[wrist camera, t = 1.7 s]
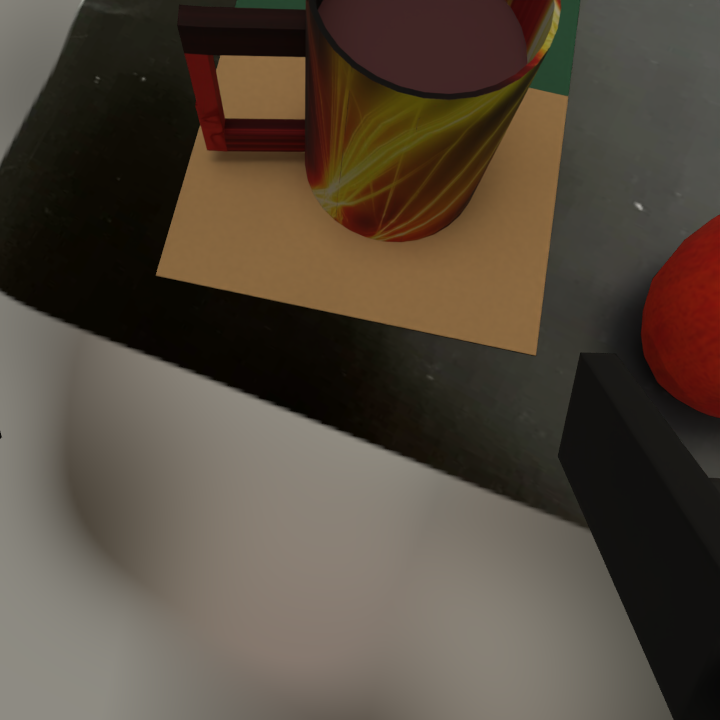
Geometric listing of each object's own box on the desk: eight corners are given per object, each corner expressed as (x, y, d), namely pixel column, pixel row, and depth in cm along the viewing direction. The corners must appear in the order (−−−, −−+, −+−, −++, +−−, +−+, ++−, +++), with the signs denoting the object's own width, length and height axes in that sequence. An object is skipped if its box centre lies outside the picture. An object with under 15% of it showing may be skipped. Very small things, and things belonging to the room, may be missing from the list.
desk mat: (156, 276, 33) (155, 275, 33) (291, -182, 41) (291, -184, 41) (535, 355, 34) (535, 355, 33) (593, -111, 42) (594, -112, 42)
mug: (203, 150, 35) (154, -37, 23) (425, 62, 37) (480, -145, 26) (281, 303, 33) (270, 184, 21) (508, 200, 36) (608, 45, 24)
